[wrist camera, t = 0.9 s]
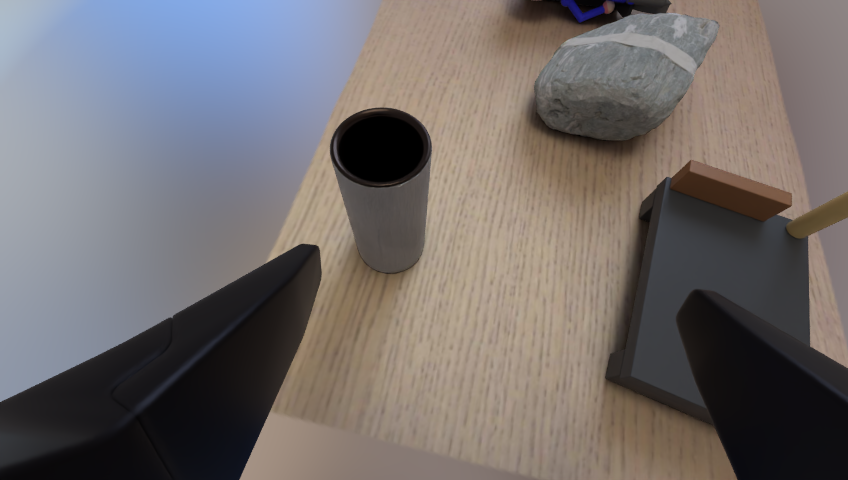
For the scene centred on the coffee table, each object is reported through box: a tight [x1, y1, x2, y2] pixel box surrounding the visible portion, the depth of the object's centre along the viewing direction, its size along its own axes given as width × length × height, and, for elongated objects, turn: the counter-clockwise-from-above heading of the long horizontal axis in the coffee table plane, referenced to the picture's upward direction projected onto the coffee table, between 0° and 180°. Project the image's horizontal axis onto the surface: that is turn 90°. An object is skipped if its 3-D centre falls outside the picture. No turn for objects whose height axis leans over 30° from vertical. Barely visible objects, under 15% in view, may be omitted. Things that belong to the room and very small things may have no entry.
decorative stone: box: [534, 13, 719, 141], centre depth 30 cm, size 13×10×6 cm
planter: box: [330, 108, 432, 273], centre depth 21 cm, size 4×4×10 cm
